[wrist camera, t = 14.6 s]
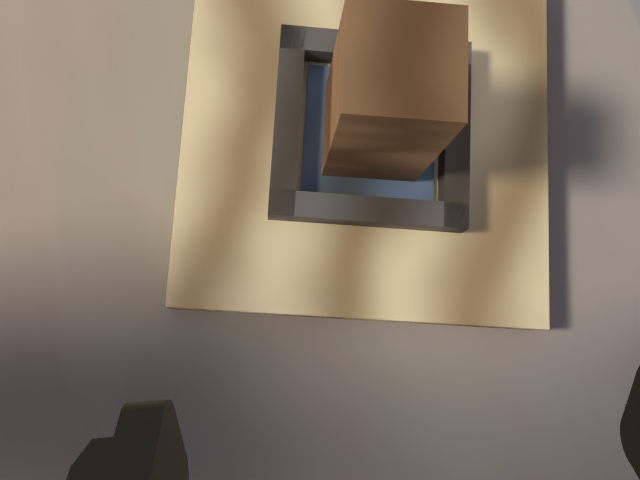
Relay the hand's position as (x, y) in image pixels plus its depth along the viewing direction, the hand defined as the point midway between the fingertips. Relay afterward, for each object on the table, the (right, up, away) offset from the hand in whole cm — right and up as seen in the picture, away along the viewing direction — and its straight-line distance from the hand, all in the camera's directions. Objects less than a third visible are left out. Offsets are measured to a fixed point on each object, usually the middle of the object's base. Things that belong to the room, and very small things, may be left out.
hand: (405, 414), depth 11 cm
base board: (+1, +8, +21) cm, 22 cm away
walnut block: (+1, +8, +19) cm, 21 cm away
